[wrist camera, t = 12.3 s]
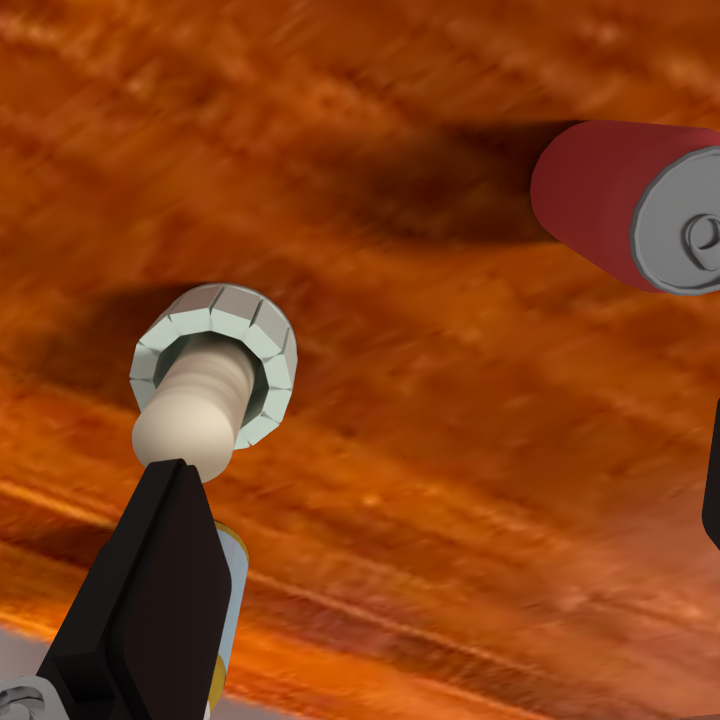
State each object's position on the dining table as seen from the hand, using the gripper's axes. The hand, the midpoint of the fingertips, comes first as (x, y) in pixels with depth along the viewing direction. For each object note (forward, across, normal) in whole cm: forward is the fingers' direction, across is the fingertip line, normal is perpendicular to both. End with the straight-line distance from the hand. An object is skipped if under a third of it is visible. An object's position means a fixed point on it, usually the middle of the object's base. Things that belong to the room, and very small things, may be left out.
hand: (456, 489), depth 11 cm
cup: (+25, +10, +7) cm, 28 cm away
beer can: (+25, -11, 0) cm, 28 cm away
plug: (+24, +10, +7) cm, 27 cm away
